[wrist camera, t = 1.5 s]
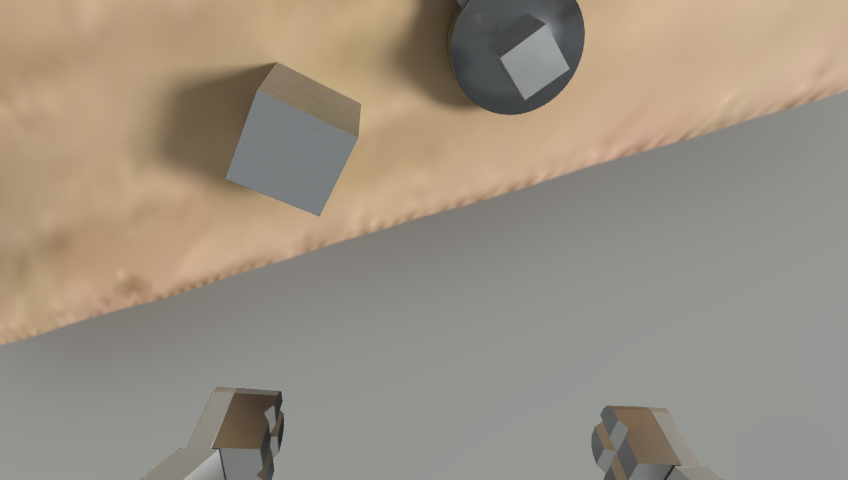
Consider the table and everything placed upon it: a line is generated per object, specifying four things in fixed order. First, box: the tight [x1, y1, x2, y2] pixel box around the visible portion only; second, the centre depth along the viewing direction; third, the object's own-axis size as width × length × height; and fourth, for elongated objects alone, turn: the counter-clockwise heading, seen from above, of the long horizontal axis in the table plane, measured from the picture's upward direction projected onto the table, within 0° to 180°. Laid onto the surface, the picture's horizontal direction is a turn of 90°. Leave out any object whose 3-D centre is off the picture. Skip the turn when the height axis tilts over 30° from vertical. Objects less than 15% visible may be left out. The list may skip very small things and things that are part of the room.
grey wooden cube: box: [225, 62, 361, 216], centre depth 29 cm, size 6×6×6 cm
